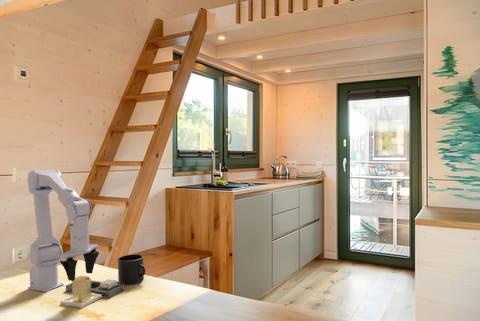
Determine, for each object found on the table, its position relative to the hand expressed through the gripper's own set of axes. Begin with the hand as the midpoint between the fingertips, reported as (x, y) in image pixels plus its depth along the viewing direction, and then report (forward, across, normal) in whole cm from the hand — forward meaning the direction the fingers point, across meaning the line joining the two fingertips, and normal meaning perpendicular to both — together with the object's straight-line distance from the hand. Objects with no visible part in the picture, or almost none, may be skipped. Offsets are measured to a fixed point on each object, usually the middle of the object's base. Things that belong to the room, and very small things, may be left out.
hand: (80, 276), depth 122 cm
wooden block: (+8, 0, 0) cm, 8 cm away
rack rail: (+8, +9, +3) cm, 13 cm away
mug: (+9, +22, -4) cm, 24 cm away
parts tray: (+8, 0, 0) cm, 8 cm away
